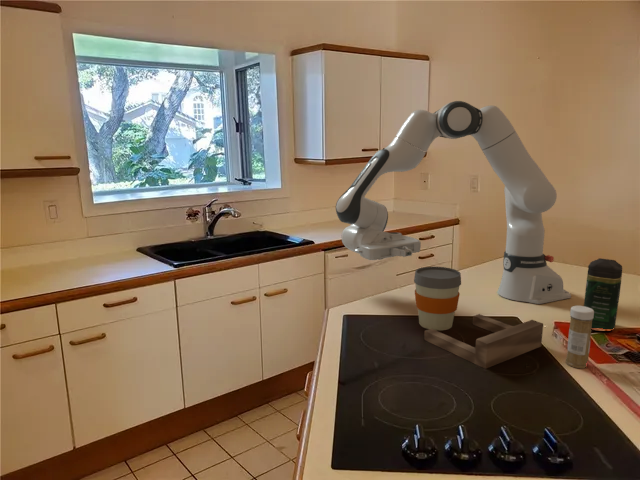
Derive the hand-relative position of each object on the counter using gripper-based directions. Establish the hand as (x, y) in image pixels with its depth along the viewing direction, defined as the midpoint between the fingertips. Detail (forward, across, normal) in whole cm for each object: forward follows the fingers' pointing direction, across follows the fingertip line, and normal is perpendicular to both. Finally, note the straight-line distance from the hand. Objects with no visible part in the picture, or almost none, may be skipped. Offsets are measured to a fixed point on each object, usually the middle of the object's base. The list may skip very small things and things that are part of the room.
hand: (408, 253), depth 138 cm
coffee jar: (+38, +35, +18) cm, 55 cm away
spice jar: (+47, +8, +18) cm, 51 cm away
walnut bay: (+27, 0, +18) cm, 32 cm away
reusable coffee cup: (+12, 0, +18) cm, 22 cm away
